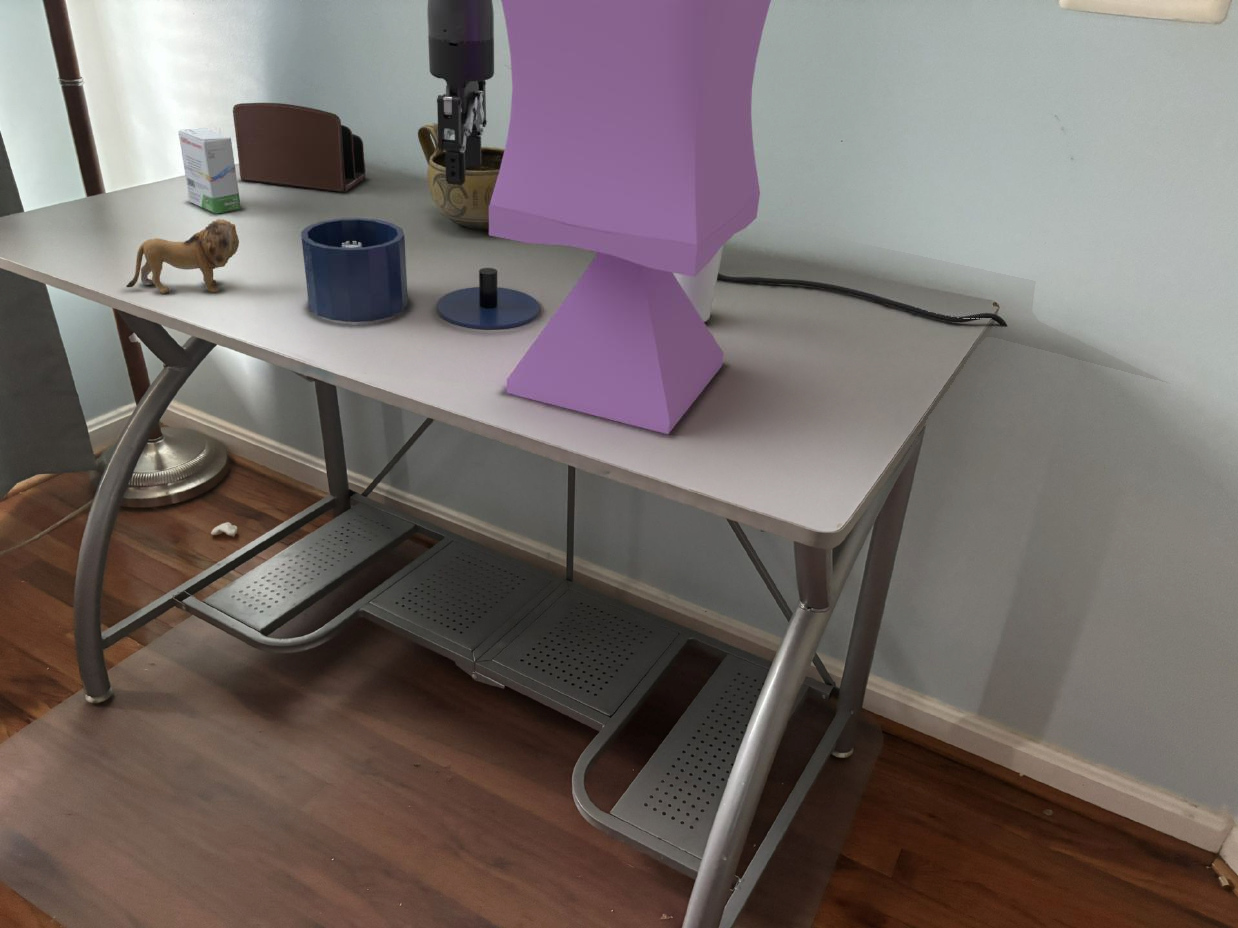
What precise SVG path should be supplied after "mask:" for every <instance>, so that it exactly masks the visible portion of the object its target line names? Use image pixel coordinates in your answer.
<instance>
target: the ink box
mask: <svg viewBox="0 0 1238 928" xmlns="http://www.w3.org/2000/svg"><path fill="white" fill-rule="evenodd" d="M177 132H178V134H177V135H178V139H179V145H180V151H181V157H182V162H183V169H184V175H185V182H186V187H187V194H188V200H189V202H190V203H191V204H194V205H196V206H198V207H200V208H202V209H204V210H206V211H208V212H209V213H210V212H211V213H213V214H214V215H215V214H216V215H218V214H223V213H228V212H233V211H238V210H242V204H241V197H240V189H239V184H238V183H239V182H238V177H237V171H236V164H235V157H234V149H233V143H232V138H231V137H229V136H227V135H224V134H222V133H219V132H217V131H214V130H212V129H209V128H207V127H200V128H186V129H184V128H183V129H179V130H178V131H177Z"/></svg>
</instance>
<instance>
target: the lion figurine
mask: <svg viewBox="0 0 1238 928" xmlns="http://www.w3.org/2000/svg"><path fill="white" fill-rule="evenodd" d="M239 245H240V240H239V235H238V233H237V229H236V224H235V223H231V221H228V220H227V219H223V218H221V219H215V220H213V221H212V222H210V223H208V225H207V226H205V228H204V229H202V230H200V231H199V232H196V233H194V234H193V235H192V236H191V237H190V238H189V239H187V240H185V241H171V240H166V239H163V238H151V239H147V240H145V241H143V242H142V243H141V244H140V246H139V247H138V251H137V253H136V260H135V261H136V262H135V271H134V276H133V278H132V280H130V281H128V283H127V284H126V285H125V288H133V287H135V285H136V284H137V283H138V280H139V277H140V281H141V283H142V284H143V285H145V286H151V285H155V287H156V289H157V290H158V292H160V293H161V294H169V293H170V288H169V286H164V285H163V284H162V282H161V274H162V270H163V263H166V264H168V265H170V266H171V267H173V268H176V269H179V270H185V271H186V270H196V269H199V270H200V272H201V273H202V276H203V282H204V283H205V286H206V288H207V290H208V291H209V292H210V293H218V292H219V287H218V286H216V285H217V280H215V279H214V270H215V269H219V268H223V267H226V265H227V264H228V261H229V260H230V258H233V256H234V255H236V253H237V252H238V249H239ZM143 256H144V258H145V260H146V261H145V263H144V264H143V266H142V260H143ZM150 273H151V274H152V276H151V278H148V276H149V274H150Z"/></svg>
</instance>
